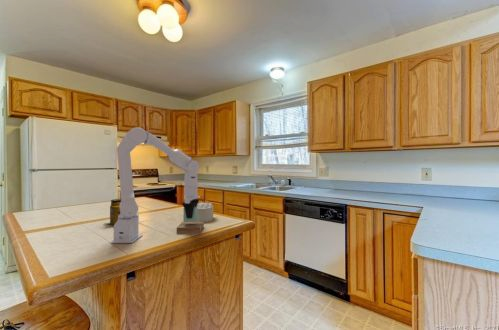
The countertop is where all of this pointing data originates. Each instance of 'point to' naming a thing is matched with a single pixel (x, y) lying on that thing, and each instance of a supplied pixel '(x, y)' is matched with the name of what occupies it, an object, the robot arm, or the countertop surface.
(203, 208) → the lumpy-topped squat cylinder
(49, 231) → the countertop surface
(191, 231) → the walnut base
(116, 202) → the condiment
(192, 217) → the teal block
